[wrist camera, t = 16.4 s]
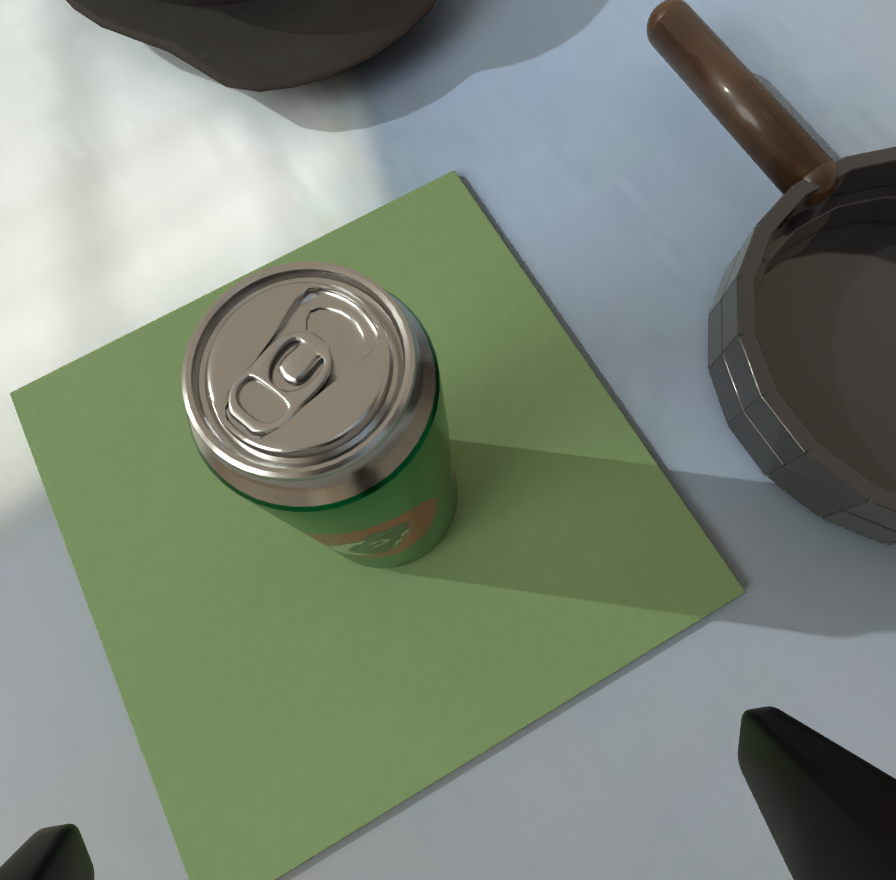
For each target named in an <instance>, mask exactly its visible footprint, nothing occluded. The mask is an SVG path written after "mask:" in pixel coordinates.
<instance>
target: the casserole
mask: <svg viewBox="0 0 896 880" xmlns="http://www.w3.org/2000/svg"><path fill="white" fill-rule="evenodd" d="M66 1H67V2H68V3H69V4H70V5H71V6H72V7H73V8H74V9H75V10H76V11H78V12H79V13H81V14H82V15H84V16H85V17H87V18H89V19H90V20H92V21H93V22H95V23H96V24H98V25H99V26H101V27H103V28H106V29H109V30H111V31H114V32H117V33H119V34H122V35H125V36H127V37H130V38H133V39H135V40H138V41H141V42H143V43H146V44H149V45H152V46H154V47H157V48H160V49H163V50H165V51H168V52H170V53H171V54H173V55H175V56H176V57H178V58H180V59H181V60H183V61H185V62H186V63H188V64H190V65H191V66H193V67H195V68H196V69H198V70H200V71H201V72H203V73H205V74H206V75H208V76H210V77H211V78H213V79H214V80H216V81H218V82H219V83H221V84H223V85H224V86H226V87H230V88H237V89H244V90H251V91H258V92H261V91H269V90H277V89H284V88H292V87H297V86H300V85H304V84H307V83H310V82H313V81H317V80H320V79H323V78H326V77H330V76H333V75H336V74H338V73H340V72H342V71H344V70H346V69H348V68H350V67H352V66H355V65H357V64H359V63H361V62H363V61H365V60H367V59H369V58H371V57H373V56H375V55H376V54H378V53H379V52H380V51H382V50H383V49H385V48H386V47H388V46H389V45H390V44H392V43H393V42H395V41H396V40H398V39H399V38H400V37H402V36H403V35H405V34H406V33H407V32H408V31H409V30H410V29H411V28H412V27H413V26H414V25H415V24H416V23H417V22H418V21H419V20H420V19H421V18H422V17H423V16H424V15H425V14H426V13H427V12H428V11H429V10H430V9H431V8H432V7H433V5H434V4H435V2H436V0H66Z"/></svg>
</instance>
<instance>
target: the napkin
mask: <svg viewBox="0 0 896 880" xmlns="http://www.w3.org/2000/svg"><path fill="white" fill-rule="evenodd" d="M301 261H317V262H327V263H332V264H336V265H341V266H345V267H347V268H350V269H352V270H355V271H357V272H360V273H362V274H363V275H365V276H367V277H368V278H370V279H371V280H373V281H375V282H376V283H377V284H378V285H379V286H381V287H382V288H383V289H385V290H387V291H388V292H390V293H391V294H393V295H395V296H396V297H397V298H399V299H400V300H401V301H402V302H403V303H404V304H406V305H407V306H408V307H409V308H410V309H411V310H412V312H413V313H414V314H415V315H416V316H417V318H418V319H419V320H420V321H421V323H422V324H423V326H424V328H425V330H426V331H427V333H428V335H429V336H430V339H431V341H432V344H433V347H434V350H435V352H436V355H437V361H438V366H439V371H440V378H441V384H442V391H443V397H444V404H445V410H446V416H447V423H448V429H449V436H450V442H451V449H452V455H453V462H454V468H455V475H456V481H457V488H458V501H457V508H456V513H455V516H454V519H453V522H452V524H451V526H450V528H449V530H448V532H447V533H446V535H445V536H444V538H443V539H442V541H441V542H440V543H439V544H438V545H437V546H436V547H435V548H434V549H433V550H432V551H430V552H429V553H428V554H427V555H425V556H424V557H422V558H420V559H418V560H417V561H415V562H413V563H410V564H407V565H404V566H400V567H395V568H372V567H366V566H363V565H360V564H357V563H355V562H353V561H351V560H349V559H347V558H345V557H343V556H342V555H340V554H338V553H337V552H335V551H333V550H331V549H330V548H328V547H326V546H325V545H323V544H321V543H319V542H318V541H316V540H314V539H313V538H311V537H309V536H308V535H306V534H304V533H302V532H301V531H299V530H297V529H296V528H294V527H292V526H290V525H289V524H287V523H285V522H284V521H282V520H280V519H279V518H277V517H275V516H273V515H272V514H270V513H268V512H267V511H265V510H263V509H261V508H260V507H258V506H256V505H255V504H253V503H251V502H249V501H248V500H246V499H244V498H243V497H241V496H239V495H238V494H236V493H235V492H234V491H232V490H231V489H230V488H228V487H227V486H225V485H224V484H223V483H222V482H221V481H220V480H219V479H218V478H217V477H216V476H215V475H214V474H213V473H212V472H211V471H210V470H209V468H208V467H207V465H206V464H205V462H204V461H203V459H202V458H201V456H200V454H199V453H198V450H197V448H196V446H195V443H194V441H193V439H192V436H191V432H190V428H189V423H188V419H187V410H186V406H185V402H184V398H183V394H182V368H183V360H184V356H185V352H186V349H187V345H188V342H189V340H190V338H191V336H192V333H193V331H194V329H195V327H196V325H197V324H198V322H199V321H200V319H201V318H202V316H203V315H204V313H205V312H206V311H207V310H208V308H209V307H210V306H211V305H212V304H213V303H214V302H215V300H216V299H217V298H219V297H220V296H221V295H222V294H223V293H224V292H225V291H227V290H228V289H229V288H230V287H232V286H233V285H235V284H236V283H238V282H239V281H241V280H242V279H244V278H246V277H248V276H250V275H252V274H254V273H256V272H258V271H260V270H263V269H266V268H269V267H273V266H276V265H280V264H285V263H291V262H301ZM10 395H11V398H12V400H13V403H14V406H15V409H16V411H17V414H18V417H19V419H20V422H21V425H22V428H23V430H24V433H25V436H26V438H27V441H28V444H29V447H30V449H31V452H32V455H33V457H34V460H35V463H36V466H37V468H38V471H39V474H40V476H41V479H42V482H43V485H44V487H45V490H46V493H47V495H48V498H49V501H50V504H51V506H52V509H53V512H54V514H55V517H56V520H57V522H58V525H59V528H60V531H61V533H62V536H63V539H64V541H65V544H66V547H67V550H68V552H69V555H70V558H71V560H72V563H73V566H74V569H75V571H76V574H77V577H78V579H79V582H80V585H81V588H82V590H83V593H84V596H85V598H86V601H87V604H88V607H89V609H90V612H91V615H92V617H93V620H94V623H95V626H96V628H97V631H98V634H99V636H100V639H101V642H102V645H103V647H104V650H105V653H106V655H107V658H108V661H109V664H110V666H111V669H112V672H113V674H114V677H115V680H116V683H117V685H118V688H119V691H120V693H121V696H122V699H123V702H124V704H125V707H126V710H127V712H128V715H129V718H130V721H131V723H132V726H133V729H134V731H135V734H136V737H137V740H138V742H139V745H140V748H141V750H142V753H143V756H144V758H145V761H146V764H147V767H148V769H149V772H150V775H151V777H152V780H153V783H154V786H155V788H156V791H157V794H158V796H159V799H160V802H161V805H162V807H163V810H164V813H165V815H166V818H167V821H168V824H169V826H170V829H171V832H172V834H173V837H174V840H175V843H176V845H177V848H178V851H179V853H180V856H181V859H182V862H183V864H184V867H185V870H186V872H187V875H188V878H189V880H276V879H278V878H279V877H281V876H282V875H284V874H286V873H287V872H289V871H291V870H292V869H294V868H296V867H297V866H299V865H300V864H302V863H304V862H305V861H307V860H309V859H310V858H312V857H314V856H315V855H317V854H318V853H320V852H322V851H323V850H325V849H327V848H328V847H330V846H332V845H333V844H335V843H336V842H338V841H340V840H341V839H343V838H345V837H346V836H348V835H350V834H351V833H353V832H354V831H356V830H358V829H359V828H361V827H363V826H364V825H366V824H368V823H369V822H371V821H372V820H374V819H376V818H377V817H379V816H381V815H382V814H384V813H385V812H387V811H389V810H390V809H392V808H394V807H395V806H397V805H399V804H400V803H402V802H403V801H405V800H407V799H408V798H410V797H412V796H413V795H415V794H417V793H418V792H420V791H421V790H423V789H425V788H426V787H428V786H430V785H431V784H433V783H435V782H436V781H438V780H439V779H441V778H443V777H444V776H446V775H448V774H449V773H451V772H453V771H454V770H456V769H457V768H459V767H461V766H462V765H464V764H466V763H467V762H469V761H471V760H472V759H474V758H475V757H477V756H479V755H480V754H482V753H484V752H485V751H487V750H488V749H490V748H492V747H493V746H495V745H497V744H498V743H500V742H502V741H503V740H505V739H506V738H508V737H510V736H511V735H513V734H515V733H516V732H518V731H520V730H521V729H523V728H524V727H526V726H528V725H529V724H531V723H533V722H534V721H536V720H538V719H539V718H541V717H542V716H544V715H546V714H547V713H549V712H551V711H552V710H554V709H556V708H557V707H559V706H560V705H562V704H564V703H565V702H567V701H569V700H570V699H572V698H574V697H575V696H577V695H578V694H580V693H582V692H583V691H585V690H587V689H588V688H590V687H592V686H593V685H595V684H596V683H598V682H600V681H601V680H603V679H605V678H606V677H608V676H609V675H611V674H613V673H614V672H616V671H618V670H619V669H621V668H623V667H624V666H626V665H627V664H629V663H631V662H632V661H634V660H636V659H637V658H639V657H641V656H642V655H644V654H645V653H647V652H649V651H650V650H652V649H654V648H655V647H657V646H659V645H660V644H662V643H663V642H665V641H667V640H668V639H670V638H672V637H673V636H675V635H677V634H678V633H680V632H681V631H683V630H685V629H686V628H688V627H690V626H691V625H693V624H695V623H696V622H698V621H699V620H701V619H703V618H704V617H706V616H708V615H709V614H711V613H712V612H714V611H716V610H717V609H719V608H721V607H722V606H724V605H726V604H727V603H729V602H730V601H732V600H734V599H735V598H737V597H739V596H740V595H742V594H744V593H745V590H744V589H743V587H742V586H741V584H740V583H739V581H738V580H737V579H736V577H735V576H734V574H733V573H732V571H731V570H730V568H729V567H728V566H727V564H726V563H725V561H724V560H723V558H722V557H721V555H720V554H719V553H718V551H717V550H716V548H715V547H714V545H713V544H712V542H711V541H710V540H709V538H708V537H707V535H706V534H705V532H704V531H703V529H702V528H701V526H700V525H699V524H698V522H697V521H696V519H695V518H694V516H693V515H692V513H691V512H690V511H689V509H688V508H687V506H686V505H685V503H684V502H683V500H682V499H681V498H680V496H679V495H678V493H677V492H676V490H675V489H674V487H673V486H672V485H671V483H670V482H669V480H668V479H667V477H666V476H665V474H664V473H663V472H662V470H661V469H660V467H659V466H658V464H657V463H656V461H655V460H654V459H653V457H652V456H651V454H650V453H649V451H648V450H647V448H646V447H645V445H644V444H643V443H642V441H641V440H640V438H639V437H638V435H637V434H636V432H635V431H634V430H633V428H632V427H631V425H630V424H629V422H628V421H627V419H626V418H625V417H624V415H623V414H622V412H621V411H620V409H619V408H618V406H617V405H616V404H615V402H614V401H613V399H612V398H611V396H610V395H609V393H608V392H607V391H606V389H605V388H604V386H603V385H602V383H601V382H600V380H599V379H598V377H597V376H596V375H595V373H594V372H593V370H592V369H591V367H590V366H589V364H588V363H587V362H586V360H585V359H584V357H583V356H582V354H581V353H580V351H579V350H578V349H577V347H576V346H575V344H574V343H573V341H572V340H571V338H570V337H569V336H568V334H567V333H566V331H565V330H564V328H563V327H562V325H561V324H560V323H559V321H558V320H557V318H556V317H555V315H554V314H553V312H552V311H551V310H550V308H549V307H548V305H547V304H546V302H545V301H544V299H543V298H542V296H541V295H540V294H539V292H538V291H537V289H536V288H535V286H534V285H533V283H532V282H531V281H530V279H529V278H528V276H527V275H526V273H525V272H524V270H523V269H522V268H521V266H520V265H519V263H518V262H517V260H516V259H515V257H514V256H513V255H512V253H511V252H510V250H509V249H508V247H507V246H506V244H505V243H504V242H503V240H502V239H501V237H500V236H499V234H498V233H497V231H496V230H495V229H494V227H493V226H492V224H491V223H490V221H489V220H488V218H487V217H486V215H485V214H484V213H483V211H482V210H481V208H480V207H479V205H478V204H477V202H476V201H475V200H474V198H473V197H472V195H471V194H470V192H469V191H468V189H467V188H466V187H465V185H464V184H463V182H462V181H461V179H460V178H459V176H458V175H457V174H456V172H455V171H452V172H450V173H448V174H446V175H444V176H442V177H440V178H438V179H436V180H434V181H432V182H430V183H428V184H426V185H424V186H422V187H420V188H418V189H416V190H414V191H412V192H410V193H408V194H406V195H404V196H402V197H400V198H398V199H396V200H394V201H392V202H390V203H388V204H386V205H384V206H382V207H380V208H378V209H376V210H374V211H372V212H370V213H368V214H366V215H364V216H362V217H360V218H358V219H356V220H354V221H352V222H350V223H348V224H346V225H344V226H342V227H340V228H338V229H336V230H334V231H332V232H330V233H328V234H326V235H324V236H322V237H320V238H318V239H316V240H314V241H312V242H310V243H308V244H306V245H304V246H302V247H300V248H298V249H296V250H294V251H292V252H290V253H288V254H286V255H284V256H282V257H280V258H278V259H276V260H274V261H272V262H270V263H268V264H266V265H264V266H262V267H260V268H258V269H256V270H254V271H252V272H250V273H248V274H246V275H244V276H242V277H240V278H238V279H236V280H234V281H232V282H230V283H228V284H226V285H224V286H222V287H220V288H218V289H216V290H214V291H212V292H211V293H209V294H207V295H205V296H203V297H201V298H199V299H197V300H195V301H193V302H191V303H189V304H187V305H185V306H183V307H181V308H179V309H177V310H175V311H173V312H171V313H169V314H167V315H165V316H163V317H161V318H159V319H157V320H155V321H153V322H151V323H149V324H147V325H145V326H143V327H141V328H139V329H137V330H135V331H133V332H131V333H129V334H127V335H125V336H123V337H121V338H119V339H117V340H115V341H113V342H111V343H109V344H107V345H105V346H103V347H101V348H99V349H97V350H95V351H93V352H91V353H89V354H87V355H85V356H83V357H81V358H79V359H77V360H75V361H73V362H71V363H69V364H67V365H65V366H63V367H61V368H59V369H57V370H55V371H53V372H51V373H49V374H47V375H45V376H43V377H41V378H39V379H37V380H35V381H33V382H31V383H29V384H27V385H25V386H23V387H21V388H19V389H17V390H15V391H13V392H11V393H10Z"/></svg>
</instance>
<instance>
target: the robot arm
mask: <svg viewBox="0 0 896 880" xmlns="http://www.w3.org/2000/svg"><path fill="white" fill-rule="evenodd" d="M738 761H739V765H740V768H741V771H742V773H743V775H744V777H745V780H746V782H747V784H748V786H749V788H750V790H751V792H752V794H753V796H754V798H755V800H756V803H757V805H758V807H759V809H760V811H761V813H762V815H763V817H764V819H765V821H766V823H767V825H768V828H769V830H770V832H771V834H772V836H773V838H774V840H775V842H776V844H777V846H778V848H779V850H780V853H781V855H782V857H783V859H784V861H785V863H786V865H787V867H788V869H789V871H790V873H791V875H792V877H793V879H794V880H896V779H895V778H893V777H891V776H890V775H888V774H886V773H885V772H883V771H881V770H880V769H878V768H876V767H875V766H873V765H871V764H870V763H868V762H866V761H865V760H863V759H861V758H860V757H858V756H856V755H855V754H853V753H851V752H850V751H848V750H846V749H845V748H843V747H841V746H840V745H838V744H836V743H835V742H833V741H831V740H829V739H828V738H826V737H824V736H823V735H821V734H819V733H818V732H816V731H814V730H813V729H811V728H809V727H808V726H806V725H804V724H803V723H801V722H799V721H798V720H796V719H794V718H793V717H791V716H789V715H788V714H786V713H784V712H783V711H781V710H779V709H777V708H775V707H770V706H768V707H761V708H756V709H750V710H747V711H745V712H744V714H743V715H742V719H741V728H740V737H739V746H738ZM0 880H94V868H93V864H92V862H91V859H90V856H89V854H88V851H87V849H86V846H85V844H84V841H83V839H82V836H81V834H80V831H79V829H78V827H76V826H75V825H73V824H64V825H58V826H52V827H47V828H43V829H40V830H39V831H37V832H36V833H34V834H33V835H32V836H31V837H30V838H29V839H28V840H27V841H26V842H25V843H24V844H23V845H22V846H21V847H20V848H19V849H18V850H17V851H16V852H15V853H14V854H13V855H12V856H11V857H10V858H9V859H8V860H7V861H6V862H5V863H4V864H3V865H2V866H1V867H0Z"/></svg>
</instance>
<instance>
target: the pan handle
mask: <svg viewBox="0 0 896 880" xmlns="http://www.w3.org/2000/svg"><path fill="white" fill-rule="evenodd" d="M647 36H648V39H649V42H650V43H651V44H652V46H653V47H654V48H655V49H656V50H657V51H658V53H659V54H660V55H661V56H662V57H663V58H664V59H665V61H666V62H667V63H668V64H669V65H670V66H671V67H672V69H673V70H674V71H675V72H676V73H677V74H678V75H679V76H680V78H681V79H682V80H683V81H684V82H685V83H686V84H687V86H688V87H689V88H690V89H691V90H692V91H693V92H694V94H695V95H696V96H697V97H698V98H699V99H700V100H701V101H702V103H703V104H704V105H705V106H706V107H707V108H708V109H709V111H710V112H711V113H712V114H713V115H714V116H715V117H716V119H717V120H718V121H719V122H720V123H721V124H722V125H723V126H724V128H725V129H726V130H727V131H728V132H729V133H730V134H731V136H732V137H733V138H734V139H735V140H736V141H737V142H738V144H739V145H740V146H741V147H742V148H743V149H744V150H745V151H746V153H747V154H748V155H749V156H750V157H751V158H752V159H753V161H754V162H755V163H756V164H757V165H758V166H759V167H760V169H761V170H762V171H763V172H764V173H765V174H766V175H767V176H768V178H769V179H770V180H771V181H772V182H773V183H774V184H775V186H776V187H777V188H778V189H779V190H780V191H781V192H782V194H783V195H784V194H785V193H786V192H787V190H788V189H789V188H790V187H791V186H792V185H794V184H795V183H797V182H799V181H801V180H803V179H805V180H807V181H808V182H810V183H812V184H815V185H819V186H821V187H820V188H819V189H818V190H817V191H816V192H815V193H813V194H812V195H811V196H810V198H809V199H808V200H807V201H806V202H805V204H804V207H813V206H816V205H819V204H821V203H823V202H824V201H826V200H827V199H828V198H829V197H830V196H831V195H832V194H833V193H834V192H835V190H836V188H837V186H838V183H839V178H838V167H837V165H836V164H835V162H834V161H833V160H832V159H831V158H830V157H829V155H828V154H827V153H826V152H825V151H824V150H823V149H822V148H821V147H820V146H819V145H818V144H817V143H816V141H815V140H814V139H813V138H812V137H811V136H810V135H809V134H808V133H807V132H806V131H805V130H804V129H803V127H802V126H801V125H800V124H799V123H798V122H797V121H796V120H795V119H794V118H793V117H792V116H791V115H790V114H789V112H788V111H787V110H786V109H785V108H784V107H783V106H782V105H781V104H780V103H779V102H778V101H777V100H776V98H775V97H774V96H773V95H772V94H771V93H770V92H769V91H768V90H767V89H766V88H765V87H764V86H763V84H762V83H761V82H760V81H759V80H758V79H757V78H756V77H755V76H754V75H753V74H752V73H751V72H750V70H749V69H748V68H747V67H746V66H745V65H744V64H743V63H742V62H741V61H740V60H739V59H738V58H737V56H736V55H735V54H734V53H733V52H732V51H731V50H730V49H729V48H728V47H727V46H726V45H725V44H724V42H723V41H722V40H721V39H720V38H719V37H718V36H717V35H716V34H715V33H714V32H713V31H712V30H711V28H710V27H709V26H708V25H707V24H706V23H705V22H704V21H703V20H702V19H701V18H700V17H699V16H698V14H697V13H696V12H695V11H694V10H693V9H692V8H691V7H690V6H689V5H688V4H687V3H686V2H685V1H683V0H665V1H663V2H662V3H660V4H659V5H658V6H657V7H656V8H655V9H654V10H653V11H652V13H651V15H650V17H649V19H648V23H647Z"/></svg>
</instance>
